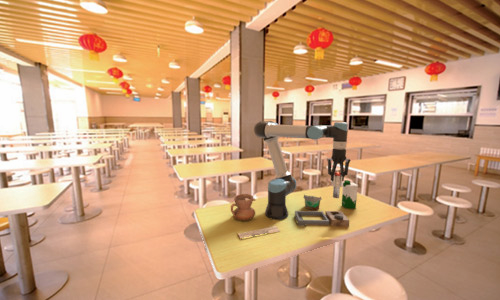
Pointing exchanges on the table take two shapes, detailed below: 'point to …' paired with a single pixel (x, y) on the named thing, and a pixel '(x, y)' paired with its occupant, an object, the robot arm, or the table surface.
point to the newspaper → (259, 232)
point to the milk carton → (349, 195)
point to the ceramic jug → (243, 207)
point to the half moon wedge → (312, 202)
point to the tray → (310, 222)
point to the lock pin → (337, 185)
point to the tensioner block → (337, 218)
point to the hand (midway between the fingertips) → (336, 186)
